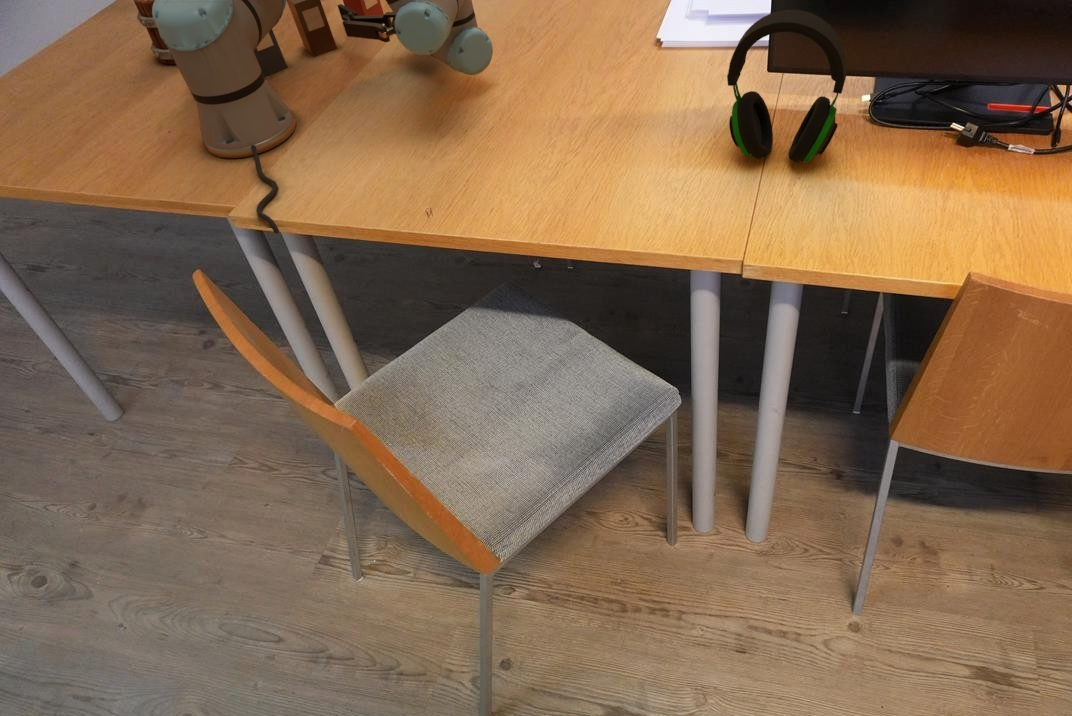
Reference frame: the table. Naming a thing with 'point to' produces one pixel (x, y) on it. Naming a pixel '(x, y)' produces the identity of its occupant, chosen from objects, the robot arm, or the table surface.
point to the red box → (364, 7)
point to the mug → (153, 31)
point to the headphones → (751, 111)
